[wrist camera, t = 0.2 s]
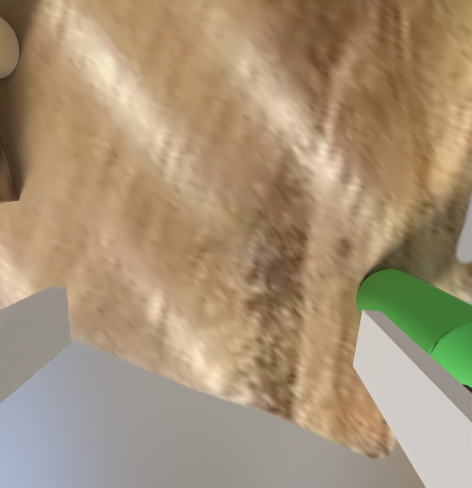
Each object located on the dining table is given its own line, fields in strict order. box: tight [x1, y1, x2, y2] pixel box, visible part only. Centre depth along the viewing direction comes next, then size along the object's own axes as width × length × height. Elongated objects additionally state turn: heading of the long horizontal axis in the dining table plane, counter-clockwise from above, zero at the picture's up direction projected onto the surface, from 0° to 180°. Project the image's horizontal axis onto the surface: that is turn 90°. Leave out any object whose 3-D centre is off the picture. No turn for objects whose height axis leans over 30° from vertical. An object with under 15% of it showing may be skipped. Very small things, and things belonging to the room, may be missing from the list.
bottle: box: [356, 269, 472, 388], centre depth 25 cm, size 9×9×25 cm
